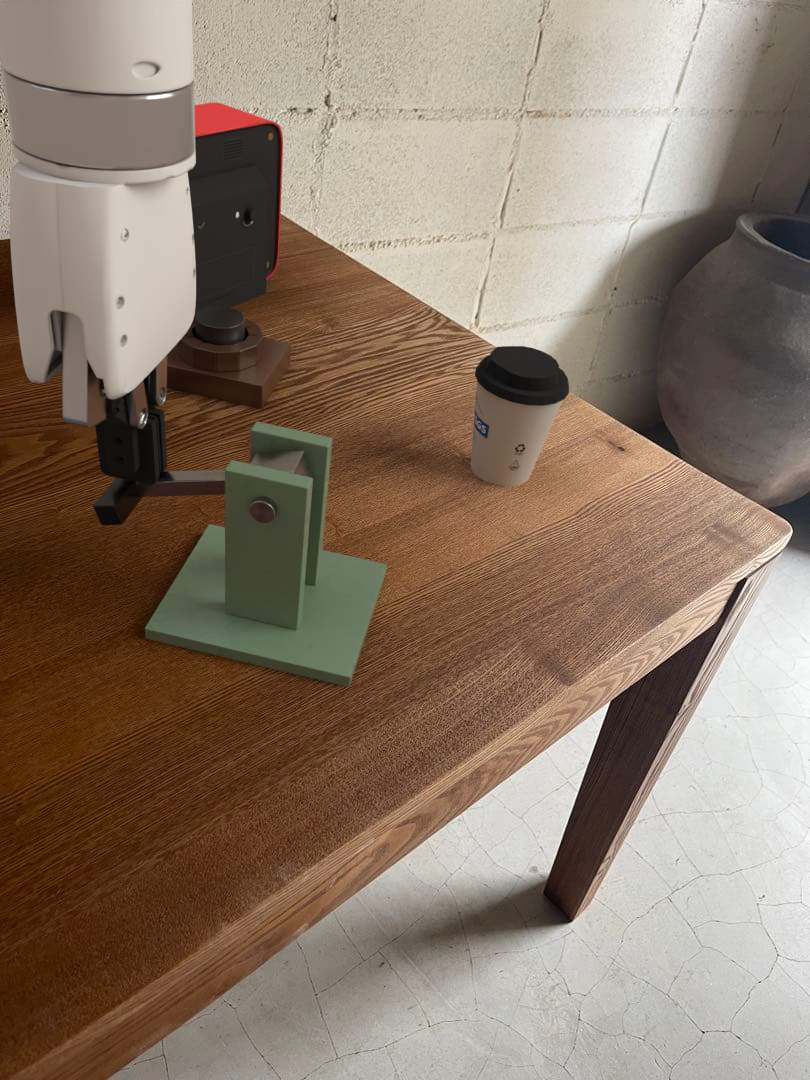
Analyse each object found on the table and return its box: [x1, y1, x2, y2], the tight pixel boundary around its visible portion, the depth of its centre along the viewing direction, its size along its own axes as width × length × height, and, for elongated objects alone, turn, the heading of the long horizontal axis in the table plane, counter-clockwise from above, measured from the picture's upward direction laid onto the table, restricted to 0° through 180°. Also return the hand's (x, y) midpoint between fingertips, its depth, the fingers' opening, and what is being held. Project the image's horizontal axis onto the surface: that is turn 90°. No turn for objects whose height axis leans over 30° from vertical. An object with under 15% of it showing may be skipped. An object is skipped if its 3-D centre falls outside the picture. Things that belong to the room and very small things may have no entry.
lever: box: [92, 451, 313, 526], centre depth 48 cm, size 11×6×2 cm, turn 79°
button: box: [195, 306, 246, 346], centre depth 71 cm, size 4×4×2 cm
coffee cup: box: [470, 345, 570, 488], centre depth 64 cm, size 7×7×10 cm
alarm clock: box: [188, 101, 284, 316], centre depth 79 cm, size 10×20×16 cm, turn 145°
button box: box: [167, 316, 292, 410], centre depth 73 cm, size 10×8×4 cm
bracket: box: [144, 421, 388, 688], centre depth 49 cm, size 12×10×12 cm
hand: (134, 471), depth 48 cm, fingers closed
